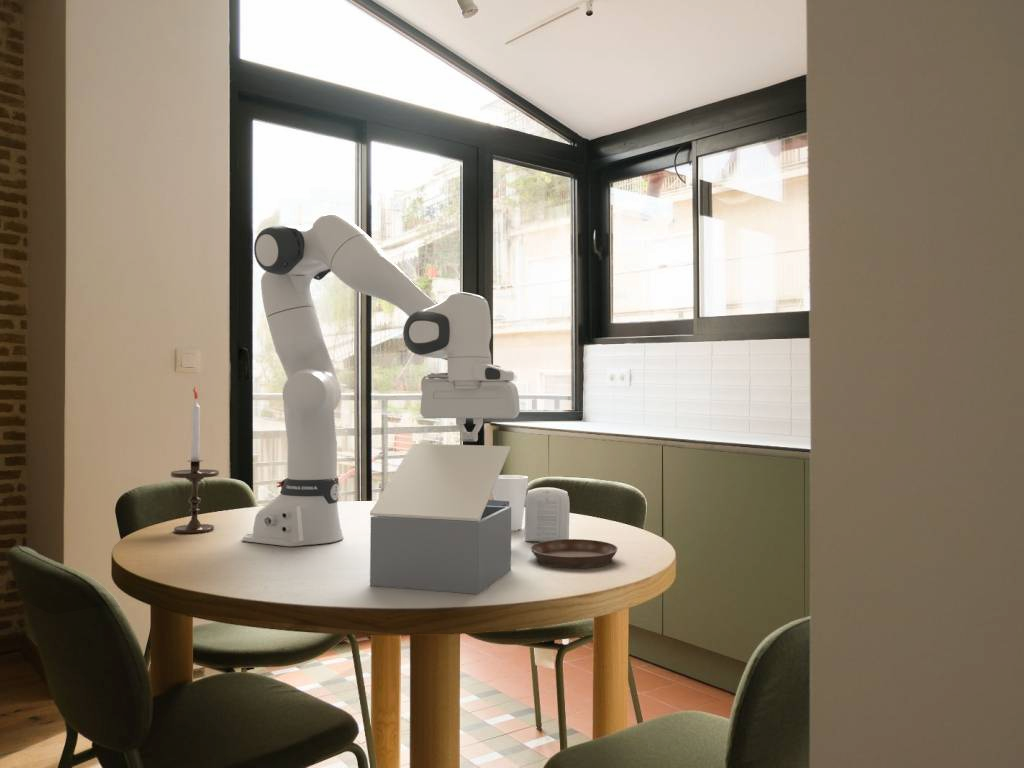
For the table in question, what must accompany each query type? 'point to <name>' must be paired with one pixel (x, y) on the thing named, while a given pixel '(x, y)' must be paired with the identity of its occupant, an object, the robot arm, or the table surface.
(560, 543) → the plant saucer
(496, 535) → the carton
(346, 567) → the table surface
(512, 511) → the foam cup
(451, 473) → the lid flap
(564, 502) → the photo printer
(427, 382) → the robot arm
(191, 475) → the candlestick
